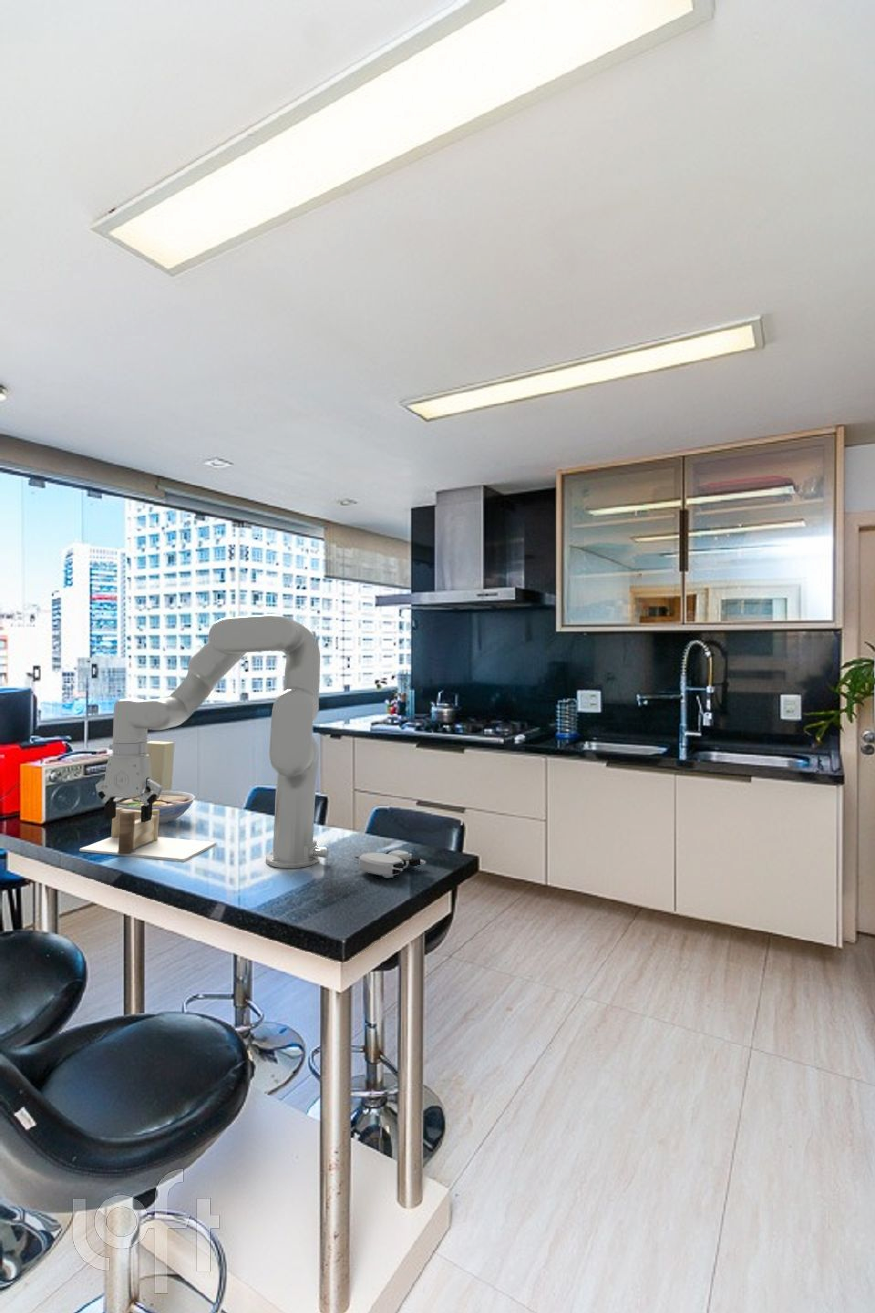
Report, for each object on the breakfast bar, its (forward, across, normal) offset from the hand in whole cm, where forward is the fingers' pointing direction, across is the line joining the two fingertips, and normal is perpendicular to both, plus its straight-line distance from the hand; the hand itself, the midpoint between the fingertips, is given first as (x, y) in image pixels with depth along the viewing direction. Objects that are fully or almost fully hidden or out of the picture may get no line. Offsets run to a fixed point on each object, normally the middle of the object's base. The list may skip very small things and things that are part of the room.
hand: (128, 820), depth 149 cm
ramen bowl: (+9, -13, +29) cm, 33 cm away
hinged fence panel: (+8, 0, +4) cm, 9 cm away
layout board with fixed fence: (+9, +1, +7) cm, 11 cm away
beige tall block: (+8, -25, +48) cm, 55 cm away
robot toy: (+11, +64, +7) cm, 65 cm away
